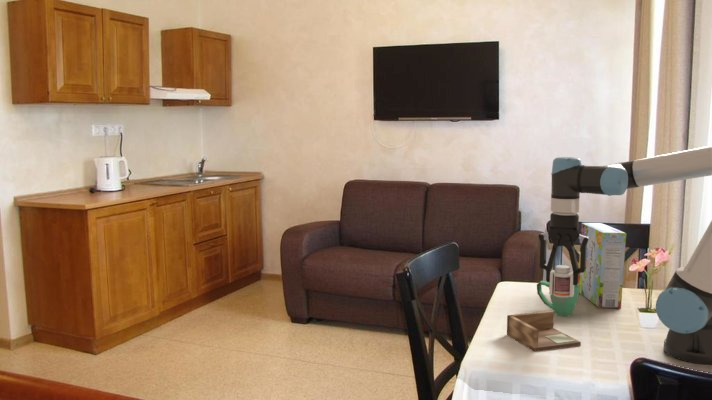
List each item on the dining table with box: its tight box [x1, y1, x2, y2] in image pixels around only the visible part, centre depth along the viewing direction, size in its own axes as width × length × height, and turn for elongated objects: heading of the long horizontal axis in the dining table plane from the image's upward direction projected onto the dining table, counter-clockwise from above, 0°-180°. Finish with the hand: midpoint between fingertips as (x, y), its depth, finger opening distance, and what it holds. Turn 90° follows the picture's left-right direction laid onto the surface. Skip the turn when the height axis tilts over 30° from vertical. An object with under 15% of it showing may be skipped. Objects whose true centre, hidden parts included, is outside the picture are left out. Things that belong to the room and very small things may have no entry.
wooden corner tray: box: [506, 309, 581, 353], centre depth 182 cm, size 14×15×6 cm
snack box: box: [578, 222, 627, 309], centre depth 222 cm, size 22×9×26 cm, turn 179°
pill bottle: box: [553, 264, 571, 297], centre depth 180 cm, size 5×5×8 cm
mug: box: [536, 280, 581, 317], centre depth 208 cm, size 15×10×10 cm
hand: (561, 294), depth 180 cm, fingers closed on pill bottle, 5 cm apart
